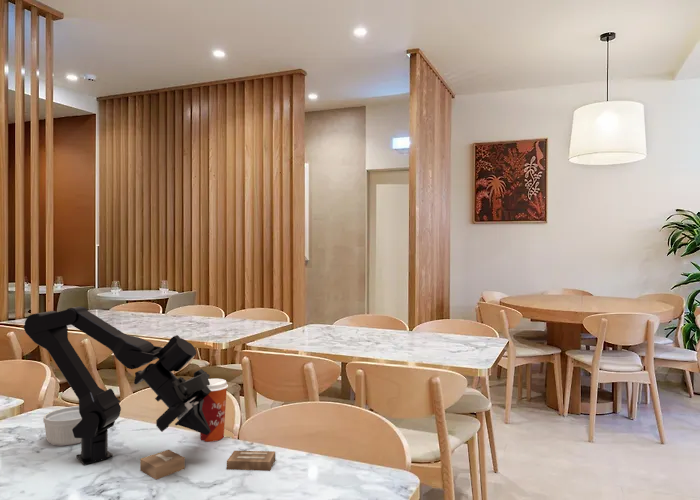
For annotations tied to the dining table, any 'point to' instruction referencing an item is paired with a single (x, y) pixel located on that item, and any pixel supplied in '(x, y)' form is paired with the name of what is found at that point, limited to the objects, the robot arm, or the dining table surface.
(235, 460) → the wooden block
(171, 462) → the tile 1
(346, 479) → the dining table surface
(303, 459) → the dining table surface
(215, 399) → the coffee cup
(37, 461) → the dining table surface
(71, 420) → the ramekin
